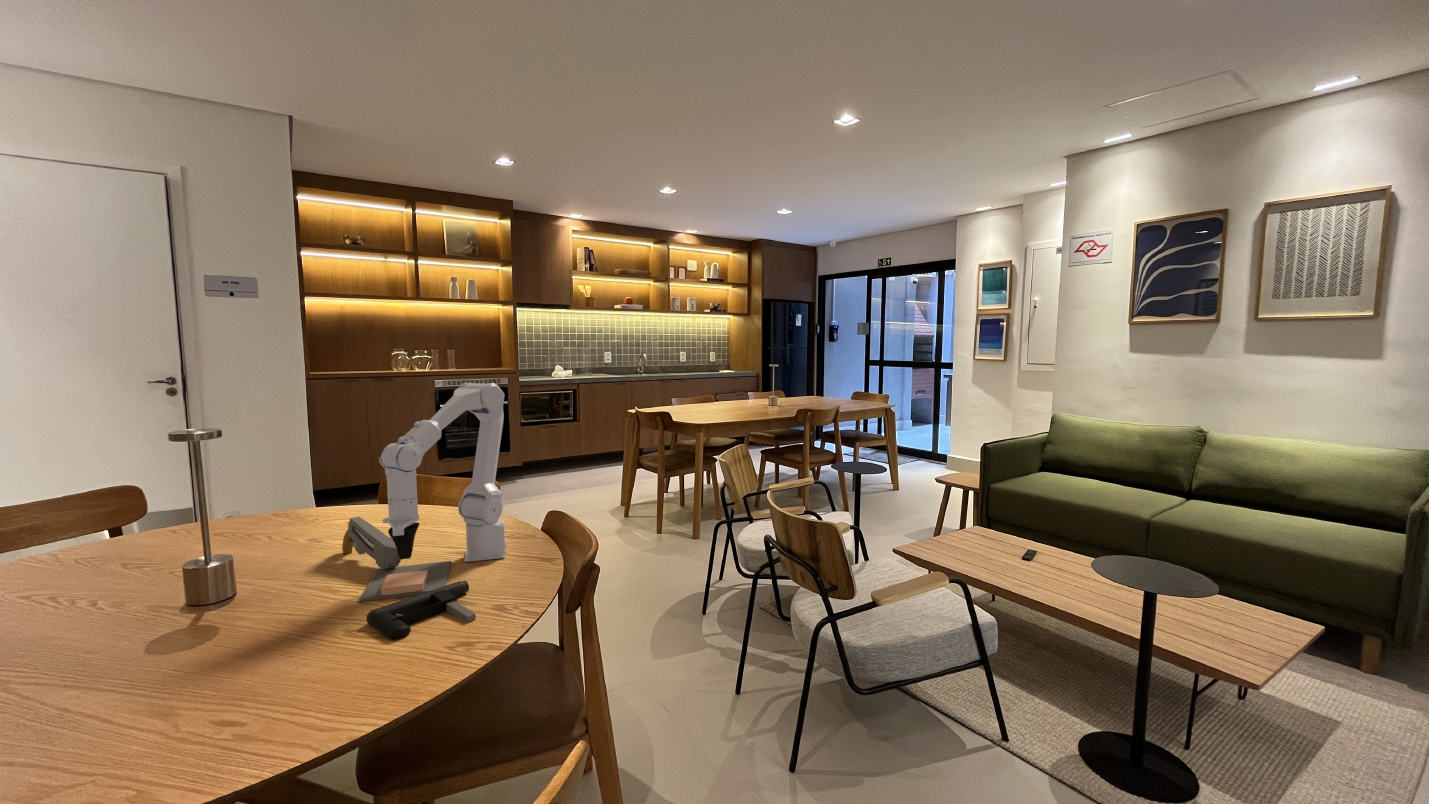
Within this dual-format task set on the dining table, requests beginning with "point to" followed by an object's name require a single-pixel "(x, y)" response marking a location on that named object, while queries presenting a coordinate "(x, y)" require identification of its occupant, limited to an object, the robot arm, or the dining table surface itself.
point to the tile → (404, 582)
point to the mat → (435, 572)
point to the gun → (370, 543)
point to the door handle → (420, 610)
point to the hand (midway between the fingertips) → (405, 557)
